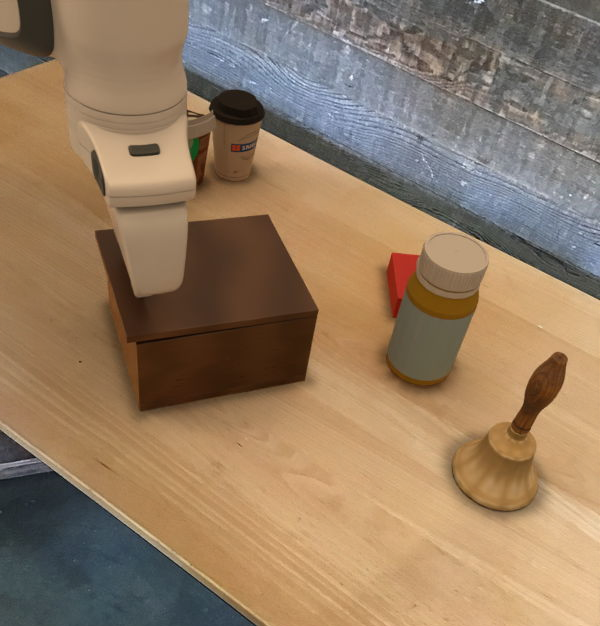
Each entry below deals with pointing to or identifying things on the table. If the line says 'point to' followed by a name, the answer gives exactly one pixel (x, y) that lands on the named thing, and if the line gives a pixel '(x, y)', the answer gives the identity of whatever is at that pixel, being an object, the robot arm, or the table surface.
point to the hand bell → (510, 447)
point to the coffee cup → (235, 132)
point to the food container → (199, 140)
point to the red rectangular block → (399, 277)
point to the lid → (213, 282)
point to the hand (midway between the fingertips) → (134, 264)
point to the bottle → (437, 308)
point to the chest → (215, 361)
